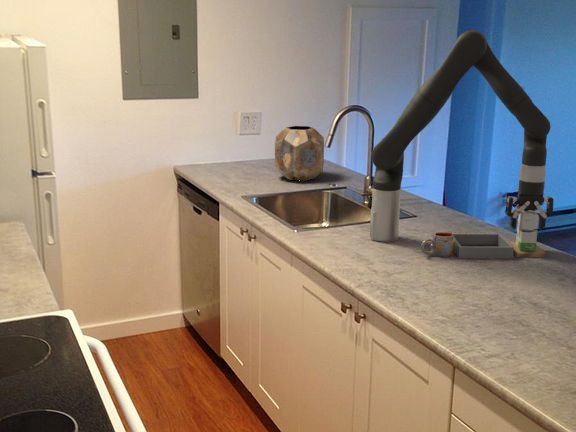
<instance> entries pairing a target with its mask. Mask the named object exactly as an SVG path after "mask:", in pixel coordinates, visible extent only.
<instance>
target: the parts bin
mask: <svg viewBox="0 0 576 432" xmlns="http://www.w3.org/2000/svg"><path fill="white" fill-rule="evenodd" d="M452 234H453V239H454V240H455V242H454V251H453V253H454V254H455V255H456V256H457V258H458V259H513V257H514V253H513V250H514V247H513V246H512V245H511V244H510V243H509V242H510V241H508V240H507V239H506V238H505V237H504V236H503V235H502V234H501V233H452ZM462 245H465V246H462ZM466 245H468V246H466ZM469 245H473V246H469ZM474 245H476V246H474ZM477 245H479V246H477ZM480 245H482V246H480ZM483 245H485V246H483ZM487 245H492V246H487ZM493 245H494V246H493ZM495 245H497V246H495Z"/></svg>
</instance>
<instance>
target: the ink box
mask: <svg viewBox="0 0 576 432" xmlns="http://www.w3.org/2000/svg"><path fill="white" fill-rule="evenodd" d="M537 212H538V211H537V210H535V211H531V210H530V211H524V210H523V211H522V212H521V213H520V214H519V215H518V216H517V226H516V229H517V230H516V237H515V242H516V244H517V246H518V248H519V250H520V251H535V250H536V245H537V237H538V229H539V217H540V214H539V213H537Z"/></svg>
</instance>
